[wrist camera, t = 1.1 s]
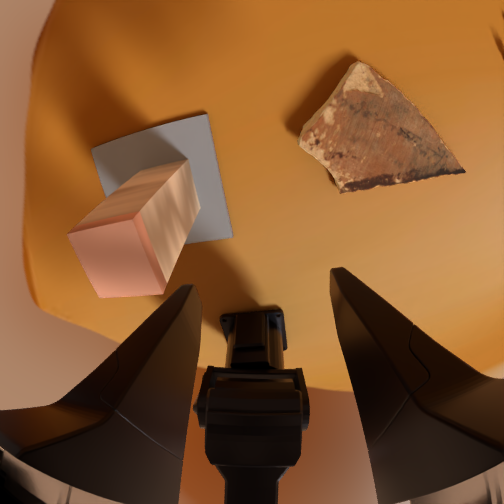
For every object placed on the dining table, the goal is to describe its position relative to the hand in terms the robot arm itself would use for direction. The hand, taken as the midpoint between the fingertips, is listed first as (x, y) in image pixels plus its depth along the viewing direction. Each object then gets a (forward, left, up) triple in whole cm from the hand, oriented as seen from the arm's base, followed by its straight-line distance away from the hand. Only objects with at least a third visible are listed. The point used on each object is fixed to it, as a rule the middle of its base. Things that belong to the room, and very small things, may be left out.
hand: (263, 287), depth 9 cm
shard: (+3, -10, -14) cm, 17 cm away
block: (0, +7, -13) cm, 14 cm away
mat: (0, +8, -13) cm, 15 cm away
